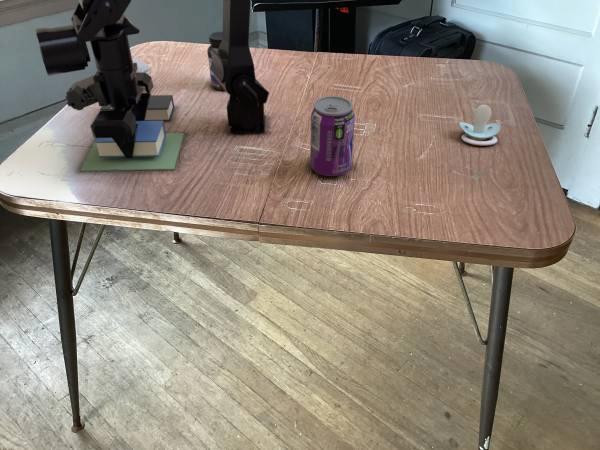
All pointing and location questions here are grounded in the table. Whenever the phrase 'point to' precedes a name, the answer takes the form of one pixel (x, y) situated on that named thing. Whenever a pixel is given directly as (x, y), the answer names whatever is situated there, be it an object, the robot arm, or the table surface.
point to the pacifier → (480, 128)
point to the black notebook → (156, 108)
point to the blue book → (137, 141)
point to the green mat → (137, 158)
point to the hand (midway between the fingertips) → (134, 146)
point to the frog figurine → (141, 66)
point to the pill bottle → (215, 43)
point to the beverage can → (332, 135)
